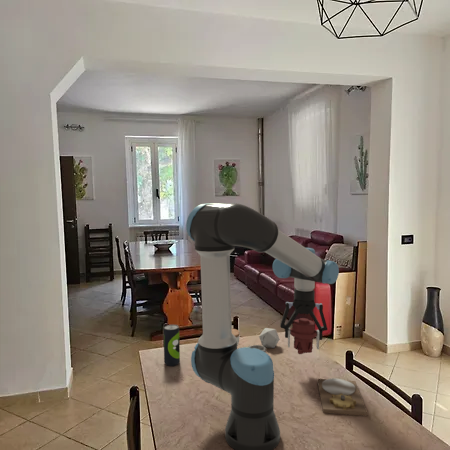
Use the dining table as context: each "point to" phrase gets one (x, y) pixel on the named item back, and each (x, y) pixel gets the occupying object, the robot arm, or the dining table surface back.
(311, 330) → the mechanical component
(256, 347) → the mug
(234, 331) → the lidded jar
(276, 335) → the die
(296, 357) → the dining table surface
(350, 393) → the gear board
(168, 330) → the beverage can
